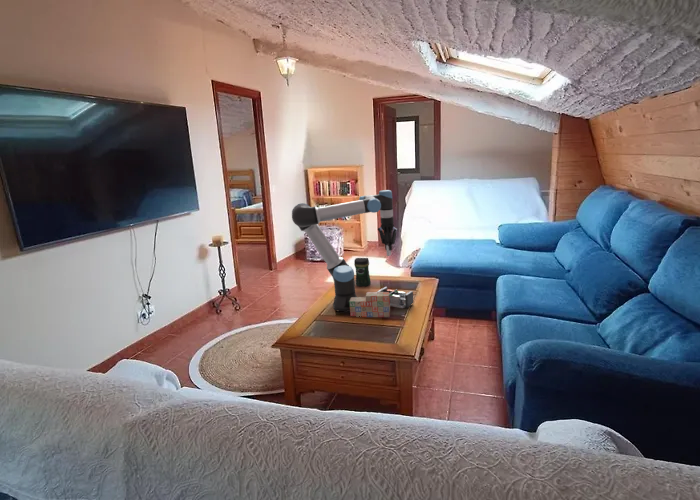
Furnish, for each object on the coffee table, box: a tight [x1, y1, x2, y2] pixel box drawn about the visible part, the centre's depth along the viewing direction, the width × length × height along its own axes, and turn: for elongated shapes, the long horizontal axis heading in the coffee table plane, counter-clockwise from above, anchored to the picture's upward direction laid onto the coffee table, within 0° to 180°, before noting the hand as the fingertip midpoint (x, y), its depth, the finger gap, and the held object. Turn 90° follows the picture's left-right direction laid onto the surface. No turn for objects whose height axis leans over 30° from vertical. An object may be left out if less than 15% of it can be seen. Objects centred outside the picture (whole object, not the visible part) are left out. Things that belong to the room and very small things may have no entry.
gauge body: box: [376, 286, 407, 309], centre depth 235 cm, size 9×17×7 cm, turn 53°
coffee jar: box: [353, 257, 372, 287], centre depth 269 cm, size 10×8×19 cm
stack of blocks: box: [349, 291, 391, 318], centre depth 221 cm, size 21×6×12 cm, turn 80°
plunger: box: [389, 288, 414, 309], centre depth 233 cm, size 9×15×8 cm, turn 53°
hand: (389, 255), depth 246 cm, fingers closed
